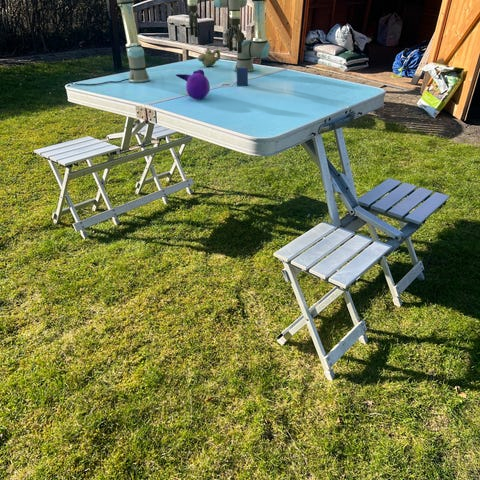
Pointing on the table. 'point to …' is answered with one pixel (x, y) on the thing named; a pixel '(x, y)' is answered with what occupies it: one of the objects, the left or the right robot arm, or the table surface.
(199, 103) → the table surface
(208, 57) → the teapot
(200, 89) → the toy
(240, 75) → the brick
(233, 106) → the table surface
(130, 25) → the left robot arm
